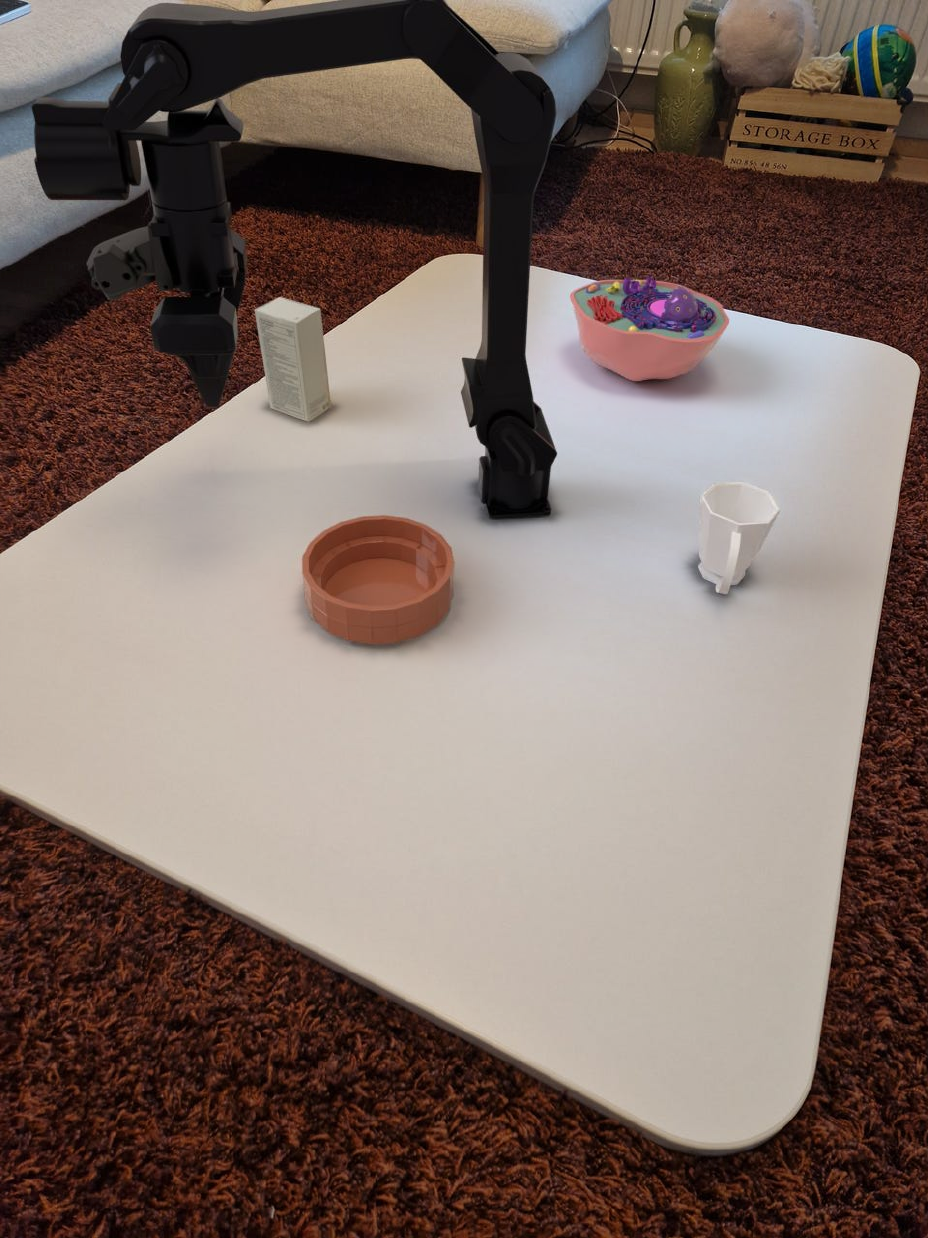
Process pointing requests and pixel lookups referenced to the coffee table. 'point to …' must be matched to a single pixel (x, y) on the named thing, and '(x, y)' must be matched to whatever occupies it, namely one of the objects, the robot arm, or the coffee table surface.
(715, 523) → the cup
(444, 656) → the coffee table surface
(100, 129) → the robot arm
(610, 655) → the coffee table surface
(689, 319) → the cell model
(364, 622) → the terracotta bowl
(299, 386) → the cosmetic box
